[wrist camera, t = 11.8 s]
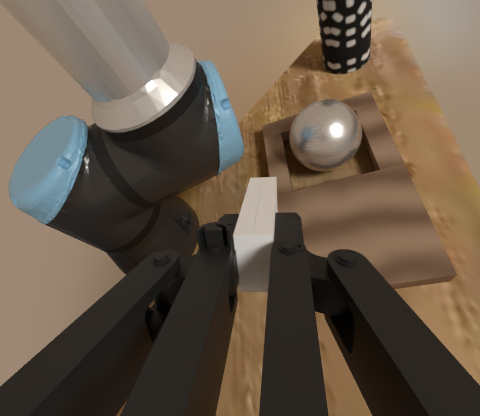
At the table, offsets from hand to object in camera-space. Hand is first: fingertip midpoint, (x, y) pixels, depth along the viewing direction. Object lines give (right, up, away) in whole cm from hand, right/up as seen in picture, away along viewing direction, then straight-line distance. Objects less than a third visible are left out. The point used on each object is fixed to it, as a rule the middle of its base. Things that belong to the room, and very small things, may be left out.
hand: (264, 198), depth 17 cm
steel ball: (+11, +10, +24) cm, 28 cm away
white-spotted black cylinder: (+19, +28, +37) cm, 50 cm away
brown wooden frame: (+13, +2, +25) cm, 28 cm away
